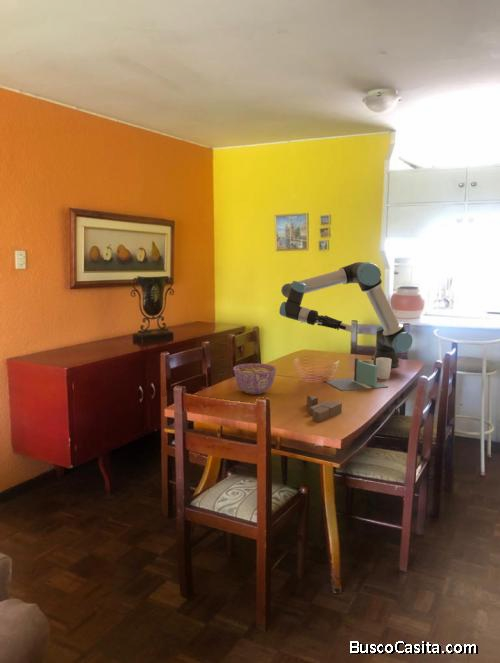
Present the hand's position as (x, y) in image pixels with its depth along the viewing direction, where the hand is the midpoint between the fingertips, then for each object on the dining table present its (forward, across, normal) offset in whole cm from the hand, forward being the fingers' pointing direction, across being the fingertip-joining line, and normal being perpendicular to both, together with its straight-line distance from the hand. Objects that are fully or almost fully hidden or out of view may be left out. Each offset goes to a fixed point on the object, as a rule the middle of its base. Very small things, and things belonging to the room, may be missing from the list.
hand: (352, 329), depth 260 cm
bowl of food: (-30, +43, -30) cm, 60 cm away
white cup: (+20, -11, -24) cm, 33 cm away
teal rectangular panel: (+14, +8, -22) cm, 28 cm away
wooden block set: (+3, +62, -21) cm, 65 cm away
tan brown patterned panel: (+12, 0, -25) cm, 27 cm away
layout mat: (+9, +8, -24) cm, 27 cm away
